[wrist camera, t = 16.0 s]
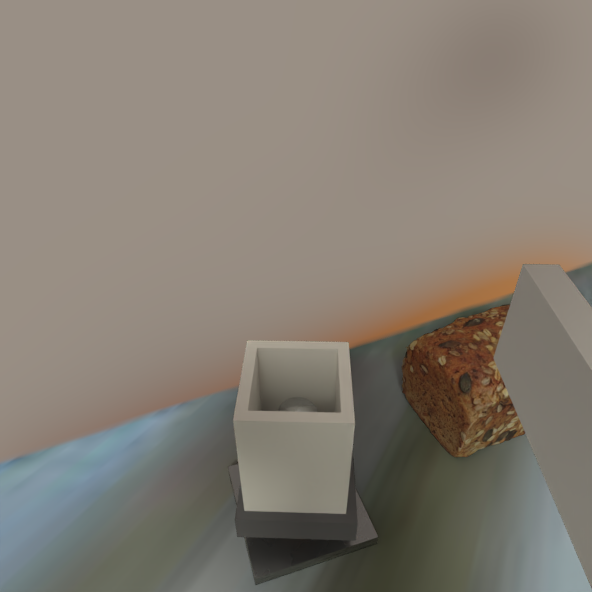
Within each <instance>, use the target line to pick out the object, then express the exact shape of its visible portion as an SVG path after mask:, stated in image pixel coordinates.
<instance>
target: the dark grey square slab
mask: <svg viewBox="0 0 592 592" xmlns="http://www.w3.org/2000/svg"><path fill="white" fill-rule="evenodd" d="M235 524H236V530H237V537H257V538H289V539H320V540H352V541H356V533H357V525H358V520H357V506H356V491H355V477H354V463H353V449H352V459H351V469H350V479H349V489H348V499H347V510H346V514H330V513H297V512H263V511H244V504H243V496H242V488H241V480H240V487H239V494H238V501H237V508H236V515H235Z"/></svg>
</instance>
